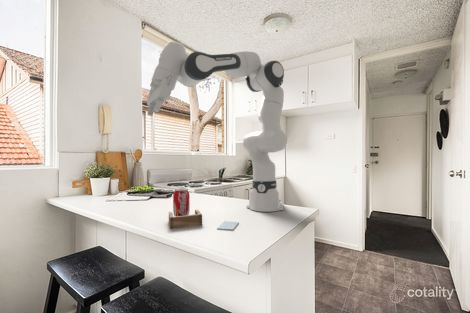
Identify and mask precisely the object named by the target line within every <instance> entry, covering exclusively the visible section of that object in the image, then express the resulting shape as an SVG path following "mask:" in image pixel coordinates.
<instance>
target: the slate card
mask: <svg viewBox="0 0 470 313" xmlns="http://www.w3.org/2000/svg"><path fill="white" fill-rule="evenodd" d="M239 224H240V222H239V221H227V220H224V221H223V222H222V223H221V224H220V225H218V227H216V230H219V231H234V230H235V229H236V228H237V227H238V225H239Z"/></svg>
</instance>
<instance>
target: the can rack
mask: <svg viewBox="0 0 470 313" xmlns="http://www.w3.org/2000/svg"><path fill="white" fill-rule="evenodd" d="M168 224H169V228H170V229H178V228H179V229H180V228H187V227H196V226H197V227H198V226H203V214H202V212H201V211H200V210H199V208H198V209H197V208H196V209H194V214H189V215H185V216H174V213H173V212H172V211H168Z"/></svg>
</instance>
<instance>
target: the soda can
mask: <svg viewBox="0 0 470 313" xmlns="http://www.w3.org/2000/svg"><path fill="white" fill-rule="evenodd" d="M172 197H173V198H172V199H173V200H172V203H173V204H172V205H173V206H172V208H173V209H172V210H173V212H172V213H173V217H175V216H185V215H190V208H191V206H190V204H191V203H190V191H189V189H188V188H187V187H185V188H176V189H175V188H174V192H173V196H172Z"/></svg>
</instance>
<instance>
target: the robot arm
mask: <svg viewBox="0 0 470 313" xmlns="http://www.w3.org/2000/svg"><path fill="white" fill-rule="evenodd" d="M261 60H262V59H261V57H260V55H259V54H258V53H257V52H254V51H238V52H237V51H236V52H232V53H222V54H209V53H205V52H202V51H193V52H191V53H190V54H189V53H188V51H187V49H186V47H185V45H183V44H182V43H180V42H177V41H170V42H167V43H166V44H165V46H164V47H163V48H162V50H161V53H160V55H159V57H158V64H157V65H156V67H155V68H154V72H153V75H152V77H151V82H150V86H149V87H150V89H149V93H148V97H147V101H146V105H147V106H148V110H147V111H148V112H147V116H150V117H152V116H153V115H154V112H155V113H160V110H161V108H162V106H163V104H164V103H165V102H166V101H167V100H169V99H170V97H171V94H172V91H174V90H175V87H176V84H177V82H179V83H180V84H181V85H183V86H185V87H189V88H193V87H195V86H197V85H198V84H200V82H202V81H204V80H205V79H208V78H209V77H210V76H211V75H212V74H214V73H221V72H224V73H225V75H226V76H227V77H228V78H232V79H236V78H237V79H238V78H243V77H244V78H245V82H246V86H247V88H248V89H249V90H250V91H251V92H252V93H258V92H261V91H262V93H263V94H262V99H261V103H260V106H259V111H258V115H257V118H258V120H259V122H260V123H261V124H262V125H261V126H262V128H261V130H259V131H252V132H250V133H248V134H246V135H245V136H244V138H243V140H242V142H243V147H244V149H245V151H246V152H248V154H249V157H250V160H251V164H252V181H251V182H252V183H251V187H252V189H251V190H250V191H249V199H248V202H249V203H248V204H247V205H246V206H245V207H246V208H247V209H250V210H252V211H255V212H265V213H266V212H269V213H270V212H276V211H277V212H278V211H284V210H285V209H284V204H283V202H282V201H281V199H280V192H279V191H278V189H277V186H278V185H277V180H276V165H275V163H274V162H273V161H272V160H271V159H270V156H269V153H277V152H280V151H283V150H284V149H285V148H286V146H287V142H288V140H287V139H288V136H287V135H286V133H285V132H284V131H283V130H282V127H281V117H282V111H283V106H284V100H285V99H284V97H285V95H284V94H285V92H284V89H283V88H282V86H281V85H283V83H284V77H285V69H284V67H283V65H282V63H281V62H280V61H278V60H271V61H268V62H266V63H264V64H262V63H261Z"/></svg>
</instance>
